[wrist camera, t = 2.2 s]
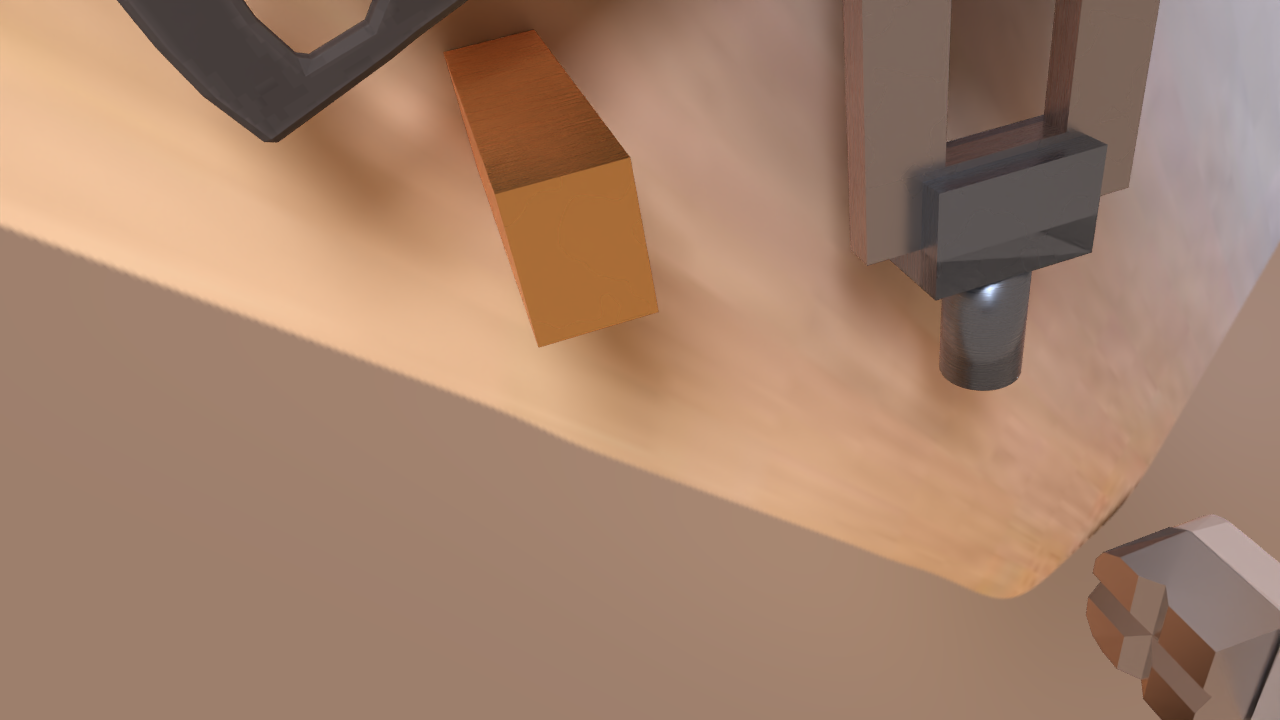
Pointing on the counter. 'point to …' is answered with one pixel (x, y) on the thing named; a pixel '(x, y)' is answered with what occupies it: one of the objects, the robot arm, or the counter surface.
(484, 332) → the counter surface
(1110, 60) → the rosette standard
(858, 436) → the counter surface
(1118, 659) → the robot arm
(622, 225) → the orange wooden block
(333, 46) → the zipper pull
